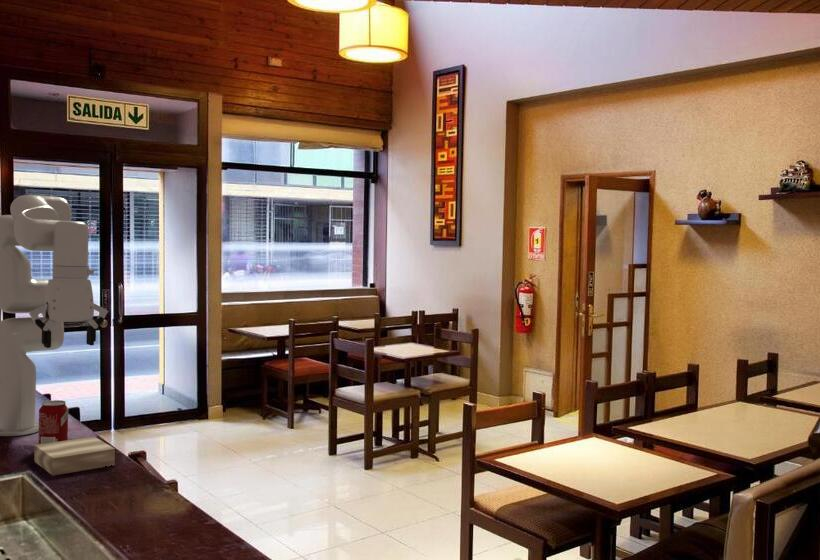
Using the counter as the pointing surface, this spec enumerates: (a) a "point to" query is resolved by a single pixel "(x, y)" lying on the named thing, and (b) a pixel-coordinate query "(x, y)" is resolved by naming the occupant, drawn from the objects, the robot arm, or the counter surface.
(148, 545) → the counter surface
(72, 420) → the counter surface
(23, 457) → the counter surface
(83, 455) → the birch block
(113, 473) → the counter surface
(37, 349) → the robot arm
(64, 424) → the soda can
